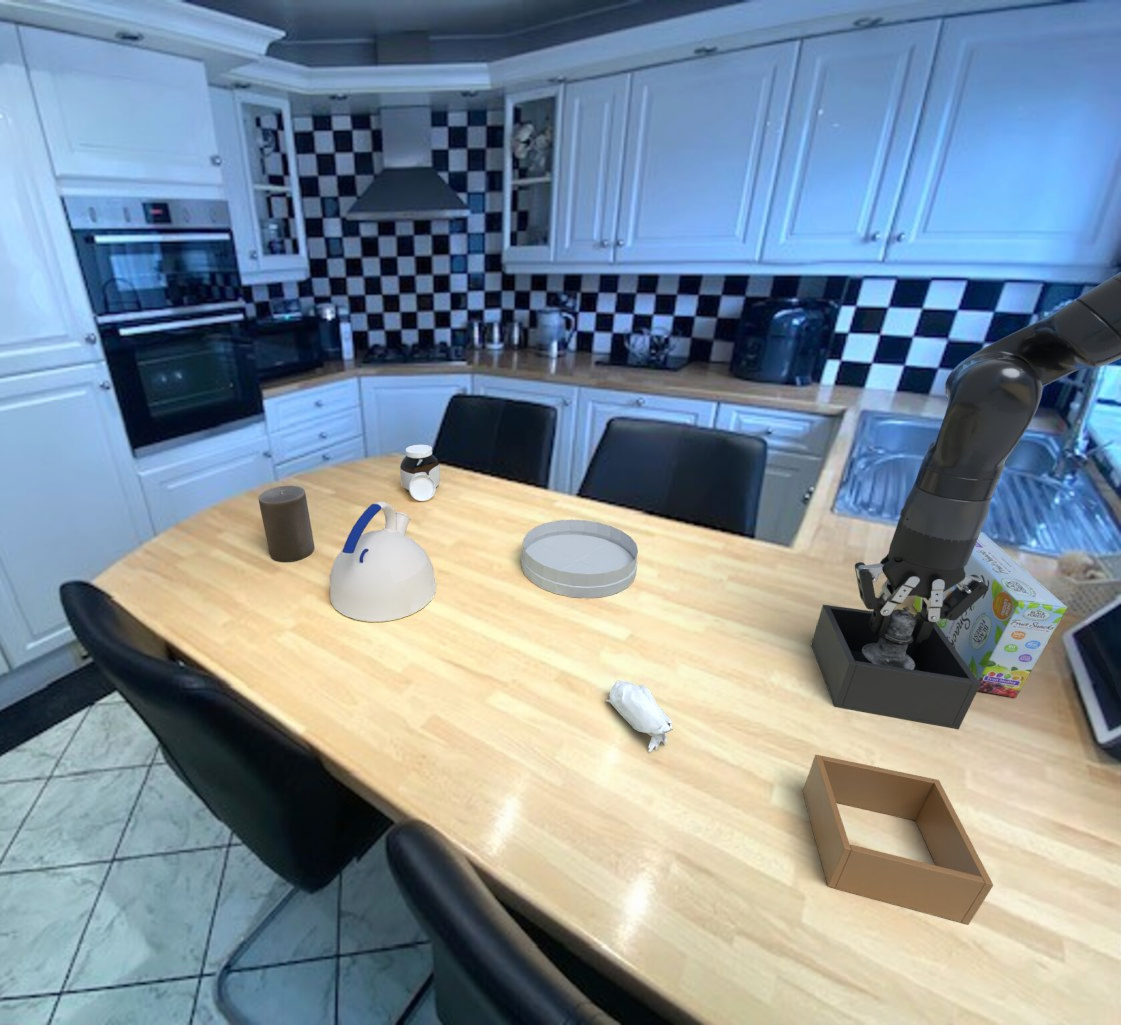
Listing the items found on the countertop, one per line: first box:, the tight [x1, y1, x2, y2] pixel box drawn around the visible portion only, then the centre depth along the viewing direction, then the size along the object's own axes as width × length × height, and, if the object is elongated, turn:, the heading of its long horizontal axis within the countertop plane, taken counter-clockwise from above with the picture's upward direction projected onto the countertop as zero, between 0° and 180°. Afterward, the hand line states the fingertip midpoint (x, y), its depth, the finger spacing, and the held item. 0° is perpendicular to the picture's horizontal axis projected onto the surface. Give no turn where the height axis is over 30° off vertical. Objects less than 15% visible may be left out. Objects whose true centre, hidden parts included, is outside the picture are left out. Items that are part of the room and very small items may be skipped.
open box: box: [810, 604, 980, 730], centre depth 77 cm, size 14×14×8 cm
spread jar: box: [399, 444, 441, 502], centre depth 145 cm, size 12×11×12 cm
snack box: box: [912, 531, 1068, 698], centre depth 82 cm, size 21×6×15 cm, turn 161°
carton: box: [802, 754, 994, 925], centre depth 57 cm, size 11×11×6 cm
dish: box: [520, 519, 639, 599], centre depth 110 cm, size 22×22×5 cm
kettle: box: [329, 501, 438, 623], centre depth 102 cm, size 20×21×18 cm
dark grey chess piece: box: [862, 606, 916, 670], centre depth 76 cm, size 6×6×12 cm
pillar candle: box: [257, 484, 315, 563], centre depth 119 cm, size 10×10×15 cm
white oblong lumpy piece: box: [605, 680, 674, 753], centre depth 73 cm, size 5×7×10 cm
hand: (896, 636), depth 75 cm, fingers closed on dark grey chess piece, 3 cm apart
